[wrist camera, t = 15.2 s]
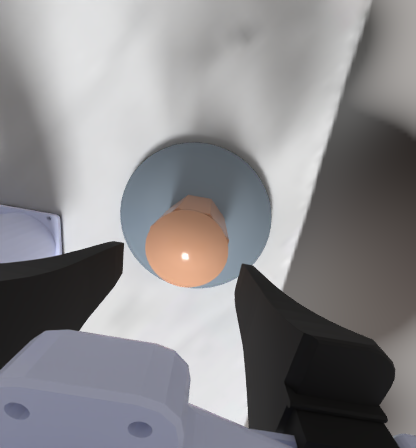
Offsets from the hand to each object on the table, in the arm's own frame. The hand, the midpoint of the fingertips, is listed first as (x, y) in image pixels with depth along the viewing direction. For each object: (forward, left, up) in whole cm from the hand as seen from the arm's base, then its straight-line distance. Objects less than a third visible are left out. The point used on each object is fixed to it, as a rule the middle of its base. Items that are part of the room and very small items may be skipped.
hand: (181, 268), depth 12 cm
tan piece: (0, 0, -9) cm, 9 cm away
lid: (0, 0, -10) cm, 10 cm away
